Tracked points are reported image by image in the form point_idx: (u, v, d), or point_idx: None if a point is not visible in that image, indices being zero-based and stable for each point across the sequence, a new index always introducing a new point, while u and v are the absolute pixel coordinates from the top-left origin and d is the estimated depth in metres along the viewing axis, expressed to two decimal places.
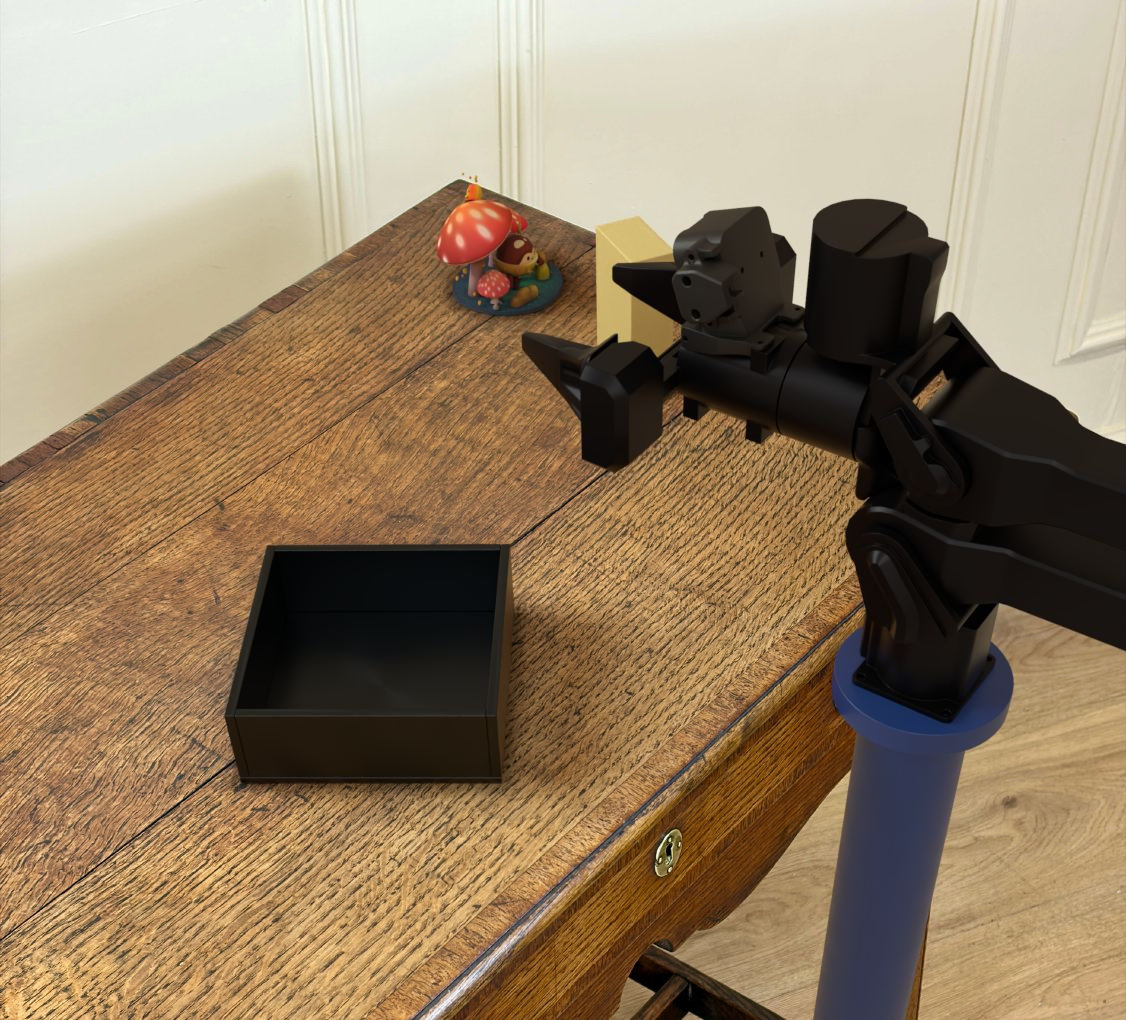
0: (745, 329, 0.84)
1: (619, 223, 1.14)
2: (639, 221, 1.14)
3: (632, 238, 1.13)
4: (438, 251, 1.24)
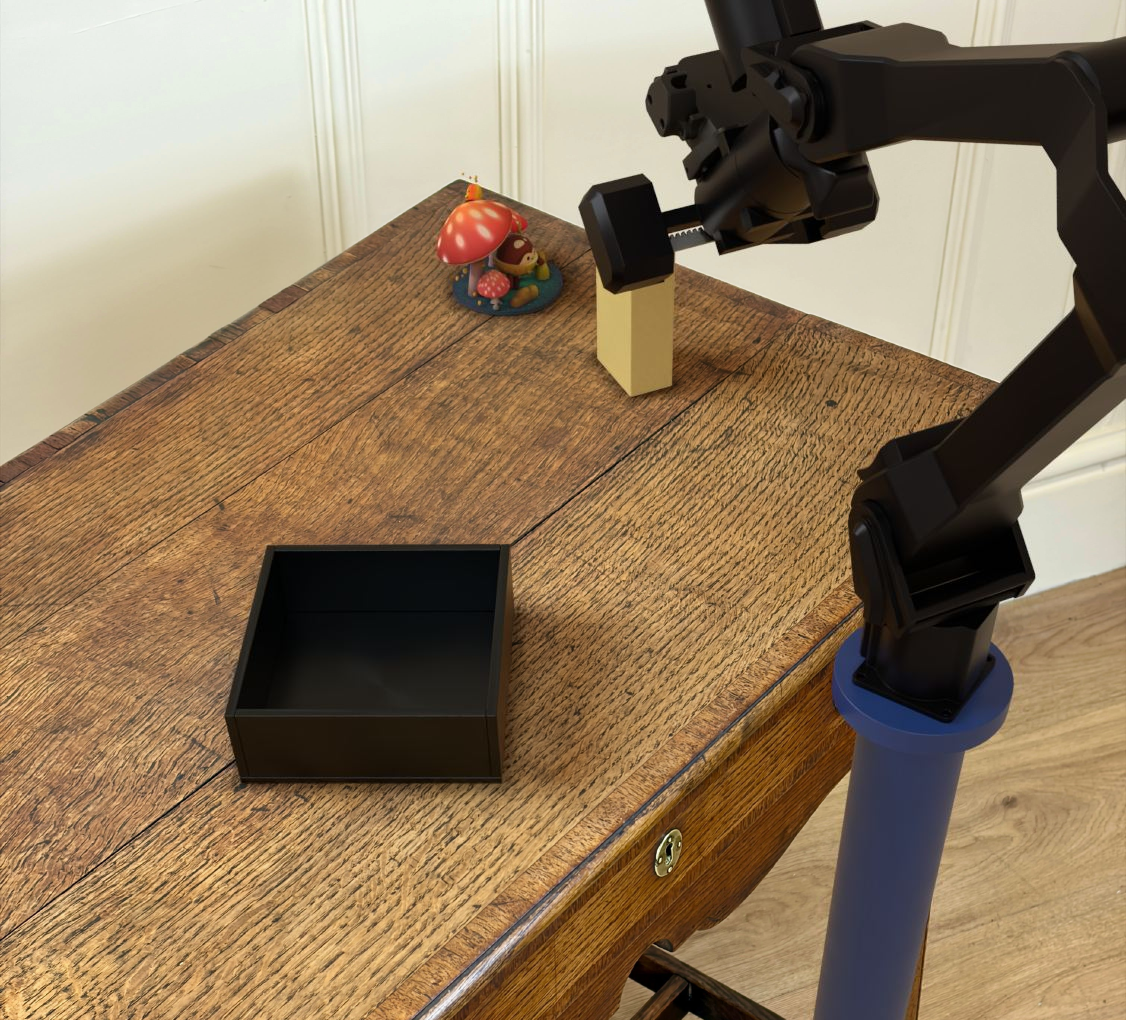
0: (714, 128, 0.92)
1: None
2: None
3: None
4: (438, 251, 1.24)
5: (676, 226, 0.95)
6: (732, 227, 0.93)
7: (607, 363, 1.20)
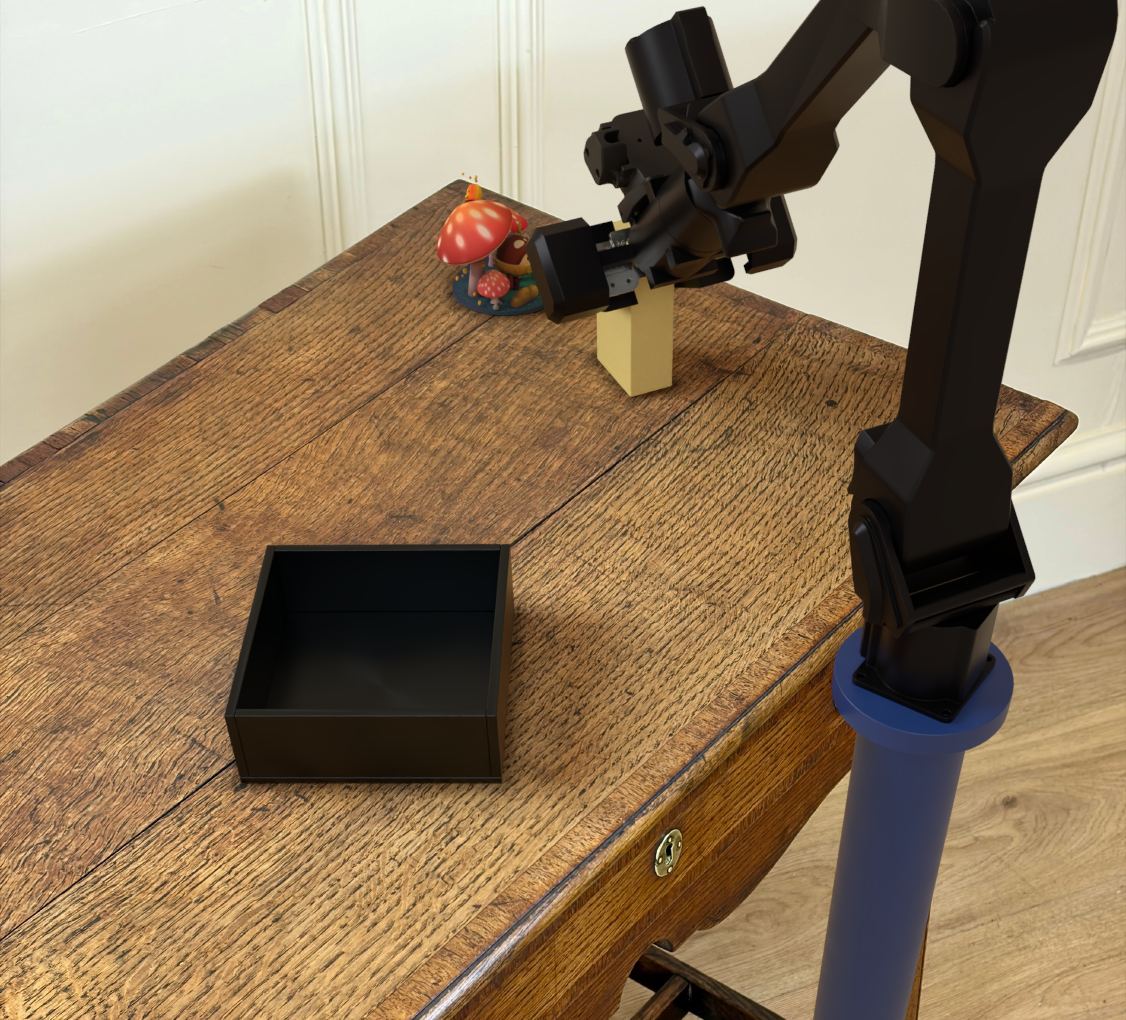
0: (643, 177, 1.04)
1: (619, 223, 1.14)
2: None
3: None
4: (438, 251, 1.24)
5: (612, 264, 1.07)
6: (660, 264, 1.05)
7: (607, 363, 1.20)
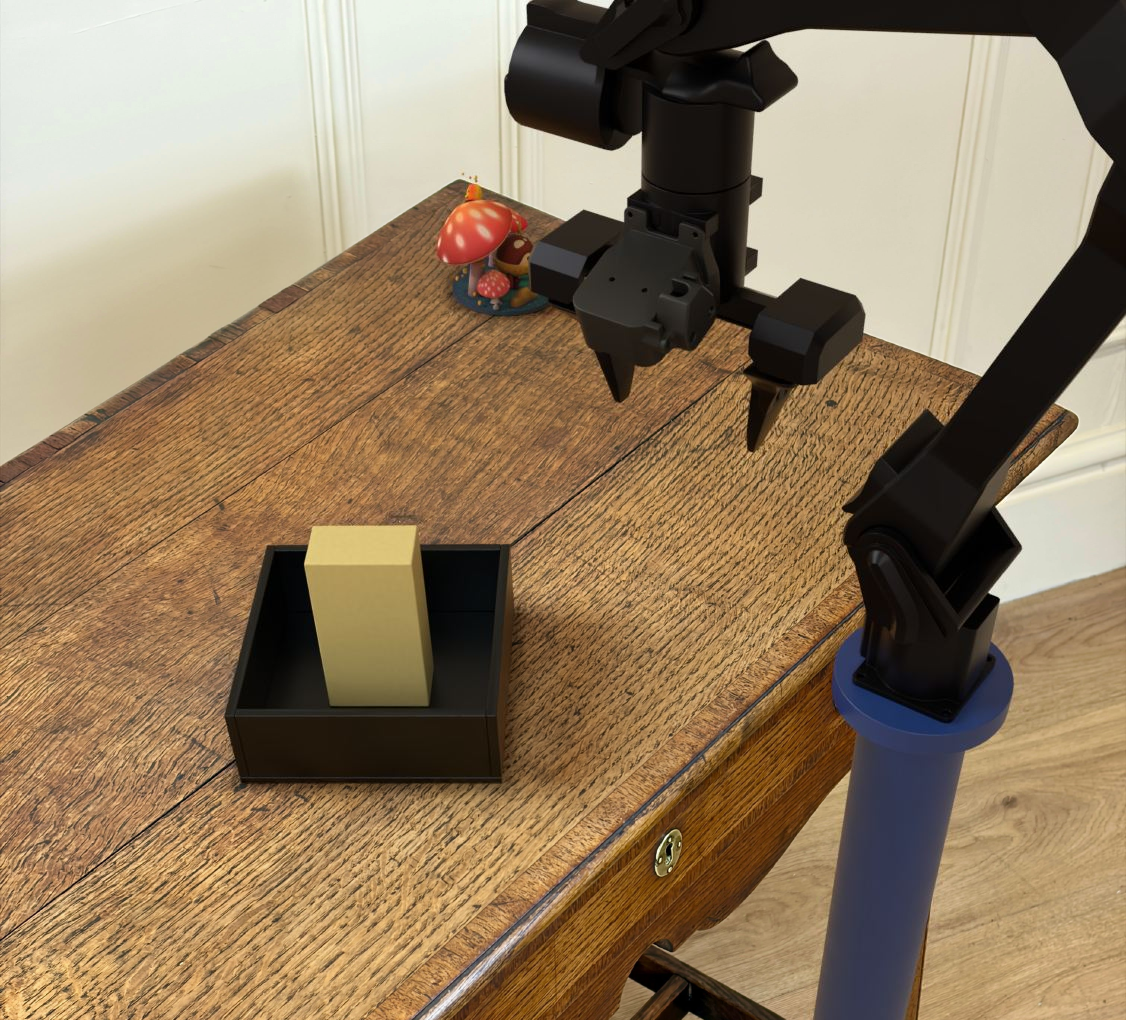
0: (689, 255, 0.81)
1: (317, 544, 0.88)
2: (326, 528, 0.89)
3: (358, 545, 0.88)
4: (438, 251, 1.24)
5: None
6: None
7: (361, 698, 0.94)
